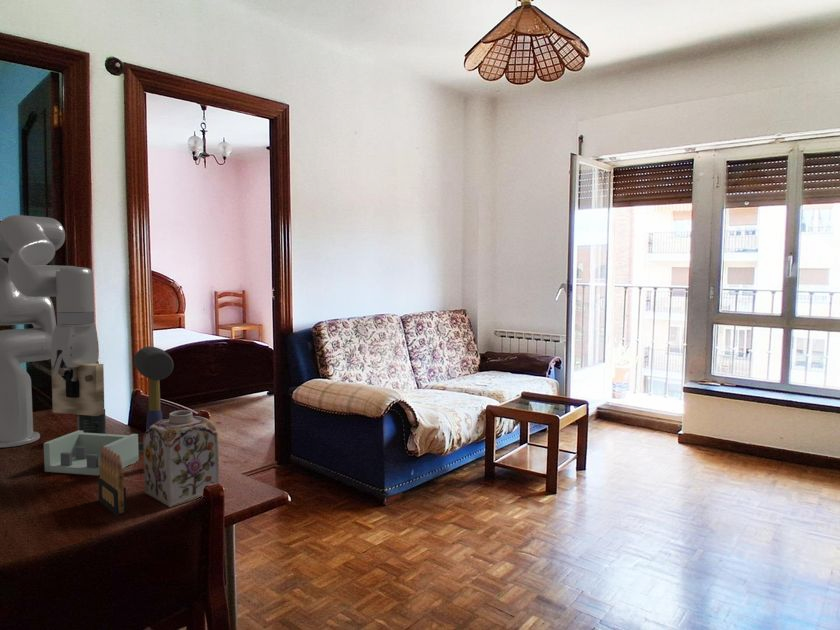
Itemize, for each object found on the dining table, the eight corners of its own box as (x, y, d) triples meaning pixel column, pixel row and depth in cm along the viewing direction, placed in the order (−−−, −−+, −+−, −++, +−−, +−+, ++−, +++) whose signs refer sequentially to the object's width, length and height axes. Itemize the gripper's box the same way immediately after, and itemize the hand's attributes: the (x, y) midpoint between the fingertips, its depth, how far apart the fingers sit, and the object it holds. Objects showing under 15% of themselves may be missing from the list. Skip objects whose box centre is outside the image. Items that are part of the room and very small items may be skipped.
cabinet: (44, 471, 134) (43, 443, 133) (79, 456, 145) (78, 430, 144) (108, 476, 131) (107, 447, 131) (138, 460, 142) (138, 434, 142)
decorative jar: (194, 479, 130) (192, 403, 129) (221, 491, 123) (220, 412, 122) (142, 494, 121) (140, 413, 120) (168, 509, 114) (166, 423, 112)
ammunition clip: (98, 500, 118) (96, 445, 117) (108, 498, 119) (106, 443, 118) (116, 515, 110) (115, 456, 109) (126, 513, 112) (125, 454, 111)
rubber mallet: (178, 472, 134) (175, 349, 132) (144, 478, 130) (141, 351, 128) (166, 458, 144) (163, 343, 142) (134, 463, 140) (131, 345, 138)
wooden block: (49, 413, 132) (47, 363, 131) (60, 410, 135) (59, 361, 134) (93, 417, 130) (92, 366, 129) (104, 413, 133) (103, 364, 132)
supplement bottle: (83, 436, 162) (82, 396, 161) (109, 435, 164) (108, 395, 163) (74, 443, 155) (73, 401, 154) (101, 442, 157) (100, 400, 156)
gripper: (87, 316, 140) (89, 388, 141) (33, 321, 124) (35, 402, 125) (114, 317, 138) (115, 389, 140) (62, 323, 123) (64, 404, 124)
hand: (77, 395), depth 133 cm, fingers closed on wooden block, 2 cm apart
